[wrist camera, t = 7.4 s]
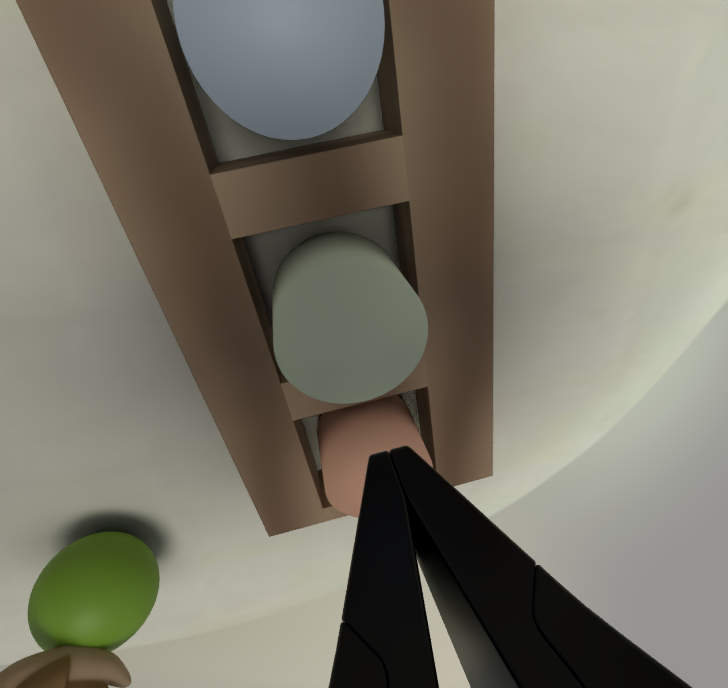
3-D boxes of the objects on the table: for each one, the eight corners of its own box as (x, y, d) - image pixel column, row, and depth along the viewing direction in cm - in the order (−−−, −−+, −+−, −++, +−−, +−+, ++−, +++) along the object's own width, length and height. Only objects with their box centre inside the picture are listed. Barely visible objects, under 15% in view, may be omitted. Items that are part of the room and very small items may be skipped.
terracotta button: (327, 471, 22) (337, 528, 19) (307, 402, 20) (313, 456, 17) (414, 448, 23) (436, 501, 20) (405, 377, 20) (428, 426, 17)
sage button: (291, 362, 17) (295, 418, 14) (255, 248, 14) (252, 288, 11) (405, 334, 17) (433, 383, 14) (391, 218, 15) (421, 250, 12)
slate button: (228, 143, 14) (216, 156, 11) (169, -52, 11) (133, -104, 8) (369, 115, 14) (395, 120, 11) (343, -80, 12) (368, -139, 9)
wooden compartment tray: (269, 496, 24) (269, 536, 21) (8, -103, 11) (-56, -152, 9) (473, 442, 24) (492, 475, 22) (454, -170, 12) (495, -228, 10)
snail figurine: (55, 492, 21) (-154, 879, 10) (185, 522, 23) (119, 852, 13) (23, 558, 22) (-182, 943, 12) (146, 579, 25) (63, 908, 15)
